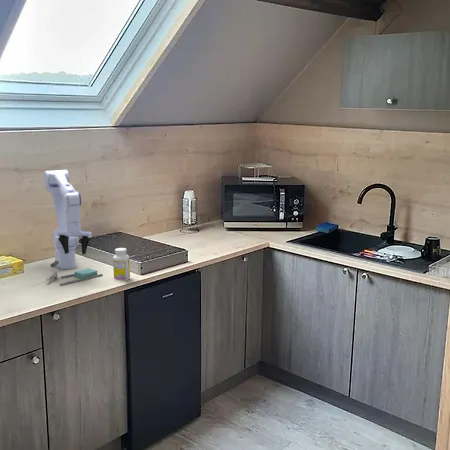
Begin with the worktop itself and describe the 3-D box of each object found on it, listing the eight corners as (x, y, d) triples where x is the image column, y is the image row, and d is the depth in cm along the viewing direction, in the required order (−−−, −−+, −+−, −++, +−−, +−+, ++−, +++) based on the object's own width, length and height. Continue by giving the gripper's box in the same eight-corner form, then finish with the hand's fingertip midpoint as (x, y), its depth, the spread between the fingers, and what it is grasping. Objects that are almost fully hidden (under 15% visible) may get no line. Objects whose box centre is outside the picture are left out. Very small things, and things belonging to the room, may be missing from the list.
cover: (75, 279, 238) (74, 271, 238) (89, 275, 244) (88, 268, 243) (83, 282, 235) (83, 274, 234) (97, 278, 240) (97, 270, 239)
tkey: (56, 276, 238) (55, 260, 237) (59, 276, 238) (58, 260, 237) (46, 283, 228) (45, 267, 227) (49, 284, 228) (48, 267, 227)
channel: (49, 282, 233) (49, 279, 233) (90, 273, 246) (90, 269, 245) (61, 288, 226) (60, 284, 226) (102, 277, 239) (102, 274, 239)
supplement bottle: (122, 275, 242) (121, 246, 240) (133, 278, 238) (132, 248, 236) (110, 279, 237) (109, 249, 235) (121, 282, 233) (119, 252, 230)
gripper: (52, 222, 232) (54, 255, 235) (86, 224, 229) (87, 256, 232) (60, 219, 239) (62, 251, 241) (93, 220, 236) (94, 252, 239)
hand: (75, 253), depth 237 cm, fingers open, 7 cm apart
